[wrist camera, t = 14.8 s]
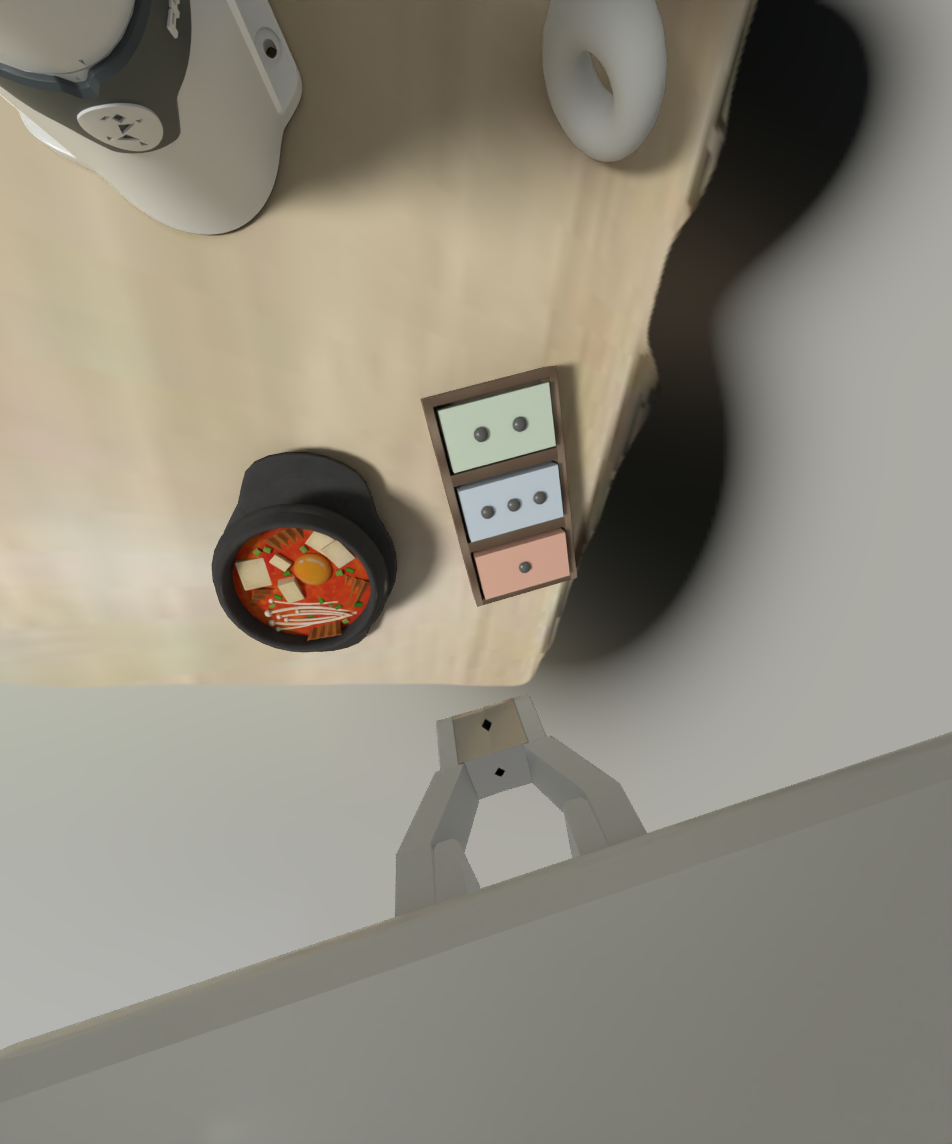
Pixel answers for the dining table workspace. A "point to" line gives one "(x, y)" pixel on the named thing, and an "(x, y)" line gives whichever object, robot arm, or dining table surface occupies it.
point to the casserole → (304, 555)
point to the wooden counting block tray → (501, 467)
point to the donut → (631, 60)
